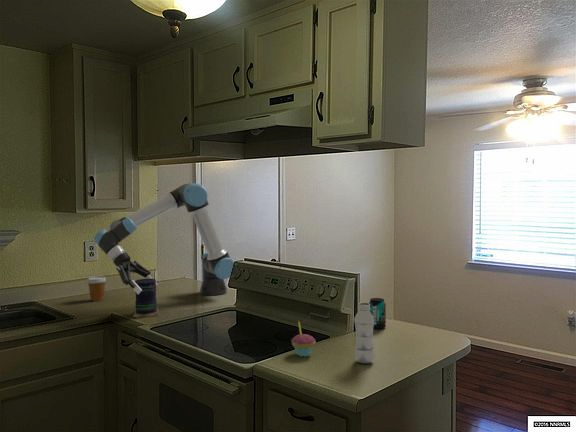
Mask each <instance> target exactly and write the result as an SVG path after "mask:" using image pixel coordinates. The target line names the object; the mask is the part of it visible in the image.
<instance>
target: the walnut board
mask: <svg viewBox="0 0 576 432" xmlns="http://www.w3.org/2000/svg"><path fill="white" fill-rule="evenodd" d="M156 309H157V312H155V313H151V314H137V313H136V309H135V310H134V312H133V316H132V317H136V318H149V317H150V318H151V317H158V316H159V312H160V308H156Z"/></svg>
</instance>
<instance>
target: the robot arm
mask: <svg viewBox="0 0 576 432" xmlns="http://www.w3.org/2000/svg"><path fill="white" fill-rule="evenodd" d="M208 196H209V194H208V191H207V189H206V188H205V186H204V185H202V184H200V183H194V182H193V183H184V184H182V185H180V186H178V187H177V188H175V189H173V190H171V191H170V192H167V195H166V196H164V197H162V198H159V199H157V200H156V201H153V202H151V203H150V204H148V205H145V206H143V207H141V208H139V209H137V210H135V211H134V212H131V213H129V214H127V215H126V216H124V217H121V218H119V219H115V220H113V221H111V223H110V224H109V230H107V229H101V230H99V231H98V232H96V234H94V236H93V241H94V242H95V243H96V245H97V246H98V247H99V248H100V249H101V251H102V252H103V253H104V254H105V256H107V257H108V258H109V260H110V261H111V262H113V264H114V266H116V268H115V269H116V270H117V273H118V274H119V277H120V279H121V281H122V284H124V285H126V286H129V287H130V288H132V290H133V291H134V293H135V292H136V293H137V294H139V293H140V292H141V291H142V289H141V288H140V287H139V286H138V285H137V284H136V283H135V280H134V279H132V276H131V273H133V274H134V273H135V274H137V275H139V276H141V277H143V278H144V279H153V277H152V276H151V271H149V270H148V269H147V268H145V267H144V266H143V265H142V264H140V263H138V262H137V261H136V260H134V261H133V262H132V261H131V256H130V255H129V254H128V253H127V252H126V251H125V249H124V248H123V247H122V246H121V245H120V243H121V242H122V241H123V240H125V239H126V238H128V237H129V236H131V234H133V233H135V231H136V230H137V228H138V227H139V226H141V225H143V224H145V223H147V222H149V221H151V220H153V219H155V218H157V217H159V216H161V215H163V214H165V213H168V212H169V211H172V210H173V209H175V210H177V209H179V208H182V207H185V208H186V211H187V213H188V214H191V215H192V218H193V220H194V222H195V225H196V228H197V230H198V232H199V235H200V237H201V241H202V242H203V245H204V247H205V250H206V252H205V253H203V254H202V258H201V261H202V282H201V285H200V289H199V294H200V295H203V296H220V295H224V294H227V293H228V290H227V289H228V288H227V285H226V282H225V280H228V279H230V278H231V277H230V275H231V271H232V268H233V264H234V262H235V261H234V259H232V258H231V256H230V254H229V252H228V250H227V249H225V248H224V247H223V245H222V242H221V240H220V236H219V234H218V232H217V229H216V226H215V224H214V221H213V220H212V216H211V213H210V212H209V209H208V207H209V206H210V204H209V202H208V198H209V197H208ZM157 286H158V283H157V282H156V287H157ZM136 293H135V294H136Z"/></svg>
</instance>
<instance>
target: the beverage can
mask: <svg viewBox="0 0 576 432" xmlns="http://www.w3.org/2000/svg"><path fill="white" fill-rule="evenodd" d="M368 303H369V304H370V310H369V311H370V313H371V314H372V316H373V318H374V326H373V330H384V329H385V328H386V321H387V319H386V318H387V314H386V313H387V312H386V311H387V304H386V302H385V299H384V298H381V297H371V298H370V300H369V302H368Z"/></svg>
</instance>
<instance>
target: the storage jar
mask: <svg viewBox="0 0 576 432" xmlns="http://www.w3.org/2000/svg"><path fill="white" fill-rule="evenodd" d="M134 282H135V283H136V284H137V285H138V286H139V287H140V288H141V289H142V291H141V292H140V293H139V294H137V293H136V292H135V291H134V293H135V310H136V313H137V314H151V313H155V312H157V309H158V307H157V306H158V303H157V302H158V300H157V293H156V292H157V286H156V283H157V279H156V278H152V279H145V278H139V279H136V280H134Z"/></svg>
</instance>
